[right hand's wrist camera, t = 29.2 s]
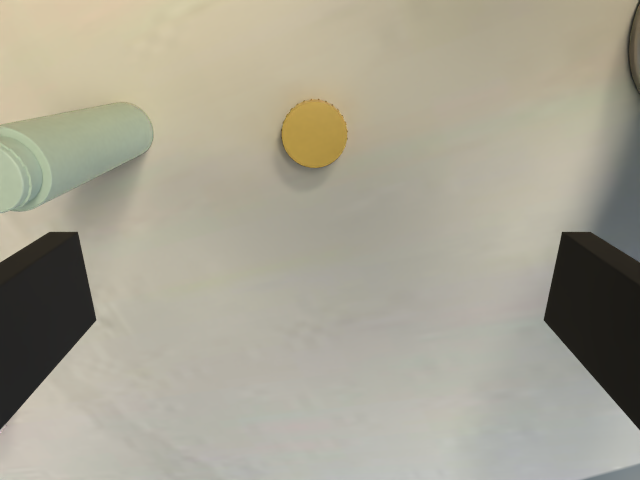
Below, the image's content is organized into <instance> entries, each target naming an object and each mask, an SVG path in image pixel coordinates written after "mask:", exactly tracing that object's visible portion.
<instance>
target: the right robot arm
mask: <svg viewBox="0 0 640 480" xmlns="http://www.w3.org/2000/svg"><path fill="white" fill-rule="evenodd" d="M629 60H630V67H631V73H632V76H633V80H634V82H635V85H636V87H637V89H638V91H639V93H640V4H639V6H638V9H637V11H636V15H635V18H634V21H633V25H632V30H631V35H630V44H629ZM95 321H96V316H95V311H94V307H93V302H92V297H91V292H90V288H89V283H88V278H87V273H86V269H85V264H84V259H83V254H82V250H81V245H80V240H79V235H78V232H49V233H47V234H46V235H44V236H42V237H41V238H39V239H37V240H36V241H34V242H33V243H31V244H29V245H28V246H26V247H25V248H23V249H21V250H20V251H18V252H16V253H15V254H13V255H12V256H10V257H8V258H7V259H5V260H4V261H2V262H0V430H1V429H2V427H3V426H4V425H5V424H6V423H7V422H8V421H9V419H10V418H11V417H12V416H13V415H14V414H15V413H16V411H17V410H18V409H19V408H20V407H21V406H22V405H23V403H24V402H25V401H26V400H27V399H28V398H29V397H30V395H31V394H32V393H33V392H34V391H35V390H36V389H37V387H38V386H39V385H40V384H41V383H42V382H43V381H44V379H45V378H46V377H47V376H48V375H49V374H50V373H51V371H52V370H53V369H54V368H55V367H56V366H57V365H58V363H59V362H60V361H61V360H62V359H63V358H64V357H65V355H66V354H67V353H68V352H69V351H70V350H71V349H72V347H73V346H74V345H75V344H76V343H77V342H78V341H79V339H80V338H81V337H82V336H83V335H84V334H85V333H86V331H87V330H88V329H89V328H90V327H91V326H92V325H93V323H94V322H95ZM544 321H545V322H546V323H547V325H548V326H549V327H550V328H551V329H552V330H553V331H554V333H555V334H556V335H557V336H558V337H559V338H560V339H561V341H562V342H563V343H564V344H565V345H566V346H567V347H568V349H569V350H570V351H571V352H572V353H573V354H574V355H575V357H576V358H577V359H578V360H579V361H580V362H581V363H582V365H583V366H584V367H585V368H586V369H587V370H588V371H589V373H590V374H591V375H592V376H593V377H594V378H595V379H596V381H597V382H598V383H599V384H600V385H601V386H602V387H603V389H604V390H605V391H606V392H607V393H608V394H609V395H610V397H611V398H612V399H613V400H614V401H615V402H616V403H617V405H618V406H619V407H620V408H621V409H622V410H623V411H624V413H625V414H626V415H627V416H628V417H629V418H630V419H631V421H632V422H633V423H634V424H635V425H636V426H637V427H638V429H639V430H640V262H638V261H636V260H635V259H633V258H632V257H630V256H628V255H627V254H625V253H624V252H622V251H620V250H619V249H617V248H615V247H614V246H612V245H611V244H609V243H607V242H606V241H604V240H603V239H601V238H599V237H598V236H596V235H594V234H593V233H591V232H562V235H561V240H560V245H559V250H558V254H557V259H556V264H555V269H554V273H553V278H552V283H551V288H550V292H549V297H548V302H547V307H546V311H545V316H544Z"/></svg>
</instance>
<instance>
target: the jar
mask: <svg viewBox="0 0 640 480" xmlns="http://www.w3.org/2000/svg"><path fill="white" fill-rule="evenodd" d="M152 140H153V128H152V124H151V122H150V120H149V118H148V116H147V115H146V114H145V113H144V112H143V111H142V110H141V109H140V108H138V107H137V106H135V105H133V104H130V103H125V102H119V103H113V104H108V105H102V106H97V107H92V108H86V109H81V110H76V111H71V112H65V113H60V114H55V115H49V116H44V117H39V118H33V119H28V120H23V121H18V122H12V123H7V124H2V125H0V213H4V212H7V211H17V212H21V211H28V210H31V209H34V208H36V207H38V206H40V205H42V204H44V203H46V202H48V201H50V200H52V199H54V198H56V197H58V196H60V195H62V194H64V193H66V192H68V191H70V190H72V189H74V188H76V187H78V186H80V185H82V184H84V183H86V182H88V181H90V180H92V179H94V178H96V177H98V176H100V175H102V174H104V173H106V172H108V171H109V170H111V169H113V168H115V167H117V166H119V165H121V164H123V163H125V162H127V161H129V160H131V159H133V158H135V157H137V156H139V155H141V154H143V153H144V152H146V151H147V150H148V148H149V147H150V145H151V143H152Z"/></svg>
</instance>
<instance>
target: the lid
mask: <svg viewBox="0 0 640 480" xmlns="http://www.w3.org/2000/svg"><path fill="white" fill-rule="evenodd" d="M343 118H344V117H343V115H341V114H340V112H339V110H338V109H336V108H335V107H334V106H333V104H332V105H331V104H329V103H327V101H321V100H319V99H318V100H312V99H311V100H308V101H305V100H304V101H303V102H302V103H300V104H297V105H296V106H295V107H294V108H292V109H291V110H290V113H289V114H287V115H286V119H285V120H284V122H283V128H282V130H281V131H282V137H281V138H282V141H283V146H284V148H285V150H286V152H287V153H288V155H289V156H290V157H291V158H292V159H293V160H294V161H295V162H297V163H298V164H300V165H302V166H305V167H310V168H319V167H324V166H327V165H329V164H331V163H332V162H334V161H335V160H336V159H337V158H338V157H339V156H340V155H341V153H342V152H343V150H344V148H345V146H346V141H347V132H348V131H347V129H346V122H344V120H343Z"/></svg>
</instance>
